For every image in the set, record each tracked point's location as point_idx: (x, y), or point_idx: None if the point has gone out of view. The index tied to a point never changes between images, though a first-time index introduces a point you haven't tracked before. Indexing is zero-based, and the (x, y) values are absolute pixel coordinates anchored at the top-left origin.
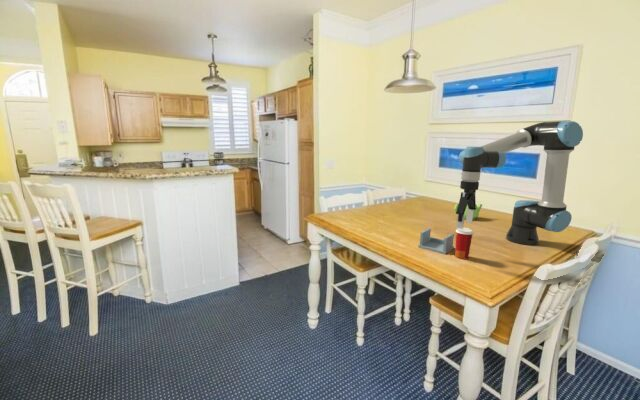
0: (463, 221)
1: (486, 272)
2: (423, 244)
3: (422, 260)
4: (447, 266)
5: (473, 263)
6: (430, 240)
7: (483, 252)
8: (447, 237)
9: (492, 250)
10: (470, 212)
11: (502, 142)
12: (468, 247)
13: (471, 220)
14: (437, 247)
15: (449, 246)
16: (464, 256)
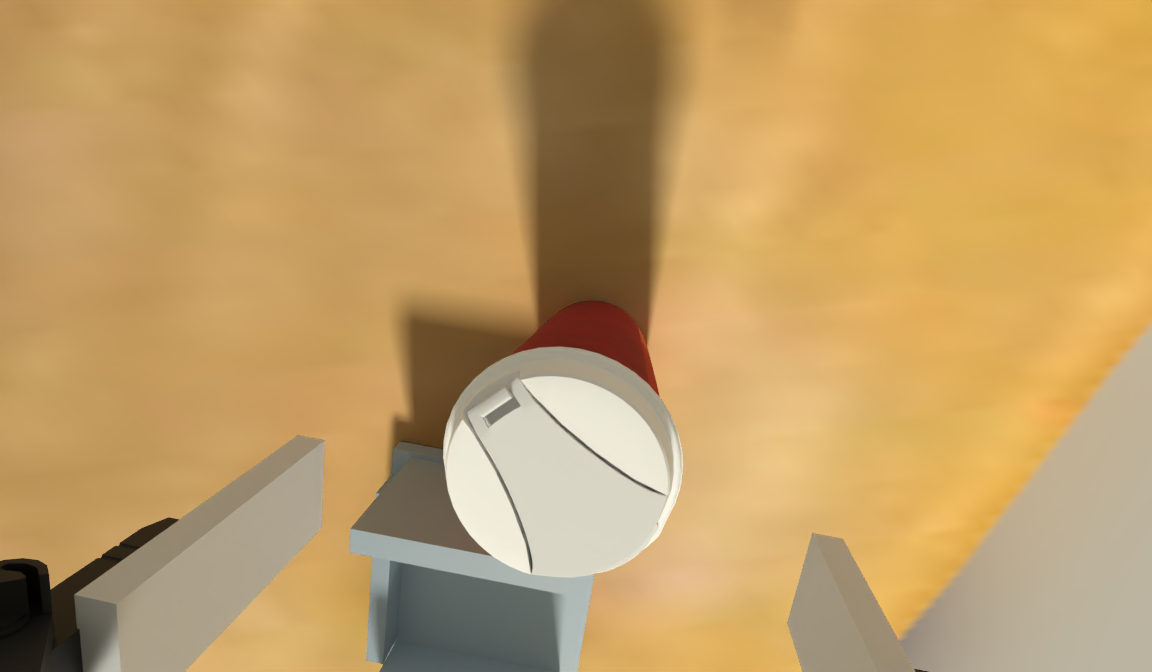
0: (893, 639)
1: (863, 107)
2: (527, 668)
3: None
4: (895, 422)
5: (695, 239)
6: (394, 638)
7: (339, 192)
8: None
9: (223, 121)
10: (181, 605)
11: None
12: (620, 331)
13: (296, 470)
14: None
15: None
16: (640, 331)
